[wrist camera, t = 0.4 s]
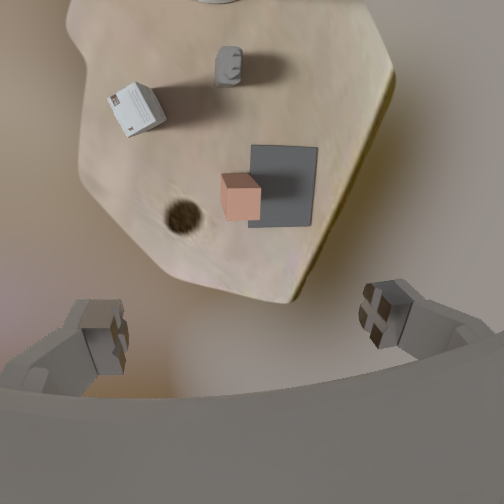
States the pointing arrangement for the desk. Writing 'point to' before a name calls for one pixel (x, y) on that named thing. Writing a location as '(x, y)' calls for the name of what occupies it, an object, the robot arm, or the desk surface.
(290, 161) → the mat
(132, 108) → the skincare box
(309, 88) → the desk surface
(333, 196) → the desk surface
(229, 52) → the power adapter
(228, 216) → the block
